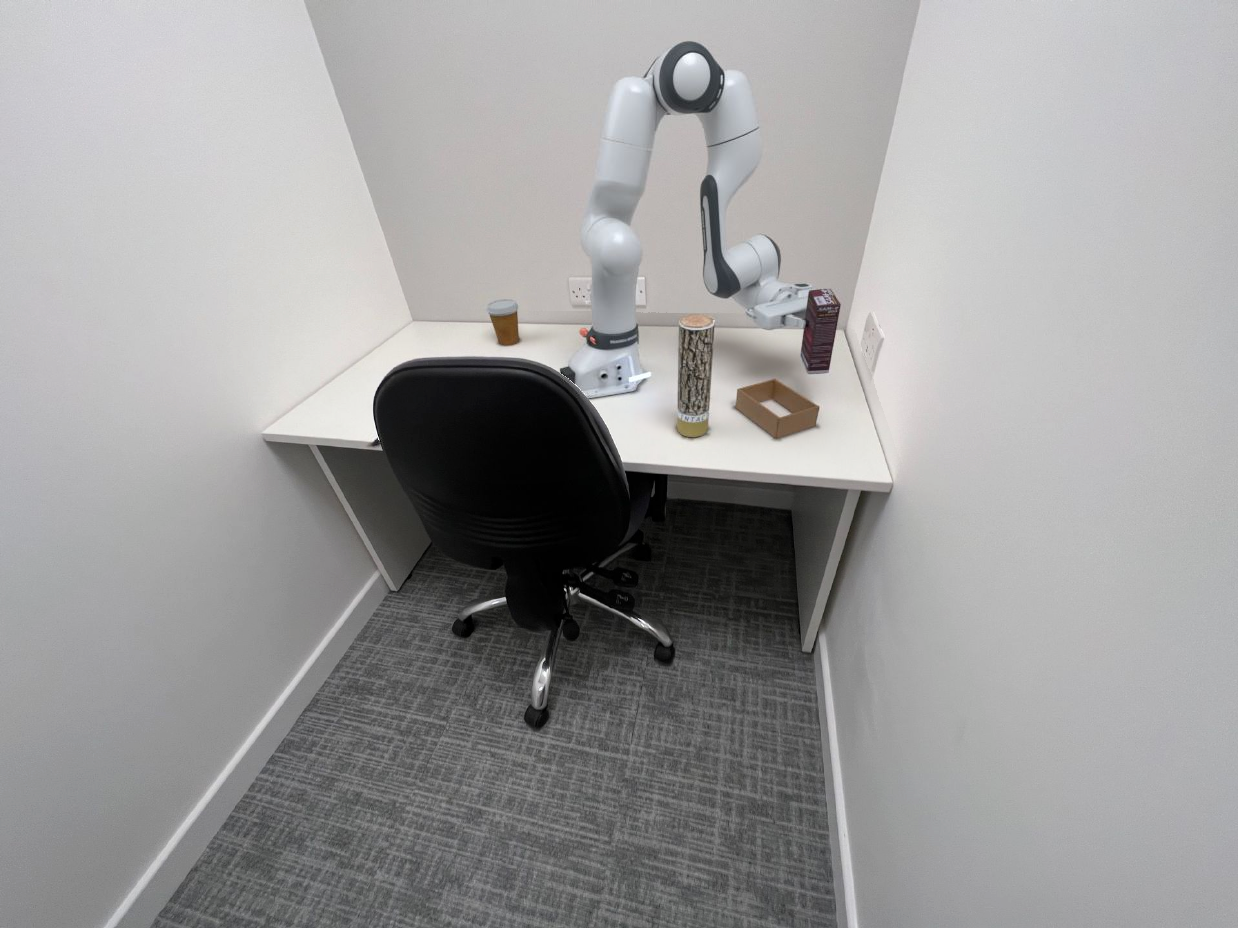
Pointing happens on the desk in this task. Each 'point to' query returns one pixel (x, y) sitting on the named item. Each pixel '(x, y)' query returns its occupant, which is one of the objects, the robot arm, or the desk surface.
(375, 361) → the desk surface
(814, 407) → the cardboard box
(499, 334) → the disposable coffee cup
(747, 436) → the desk surface
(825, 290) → the supplement box
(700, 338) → the paper tube
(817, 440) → the desk surface
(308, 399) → the desk surface
